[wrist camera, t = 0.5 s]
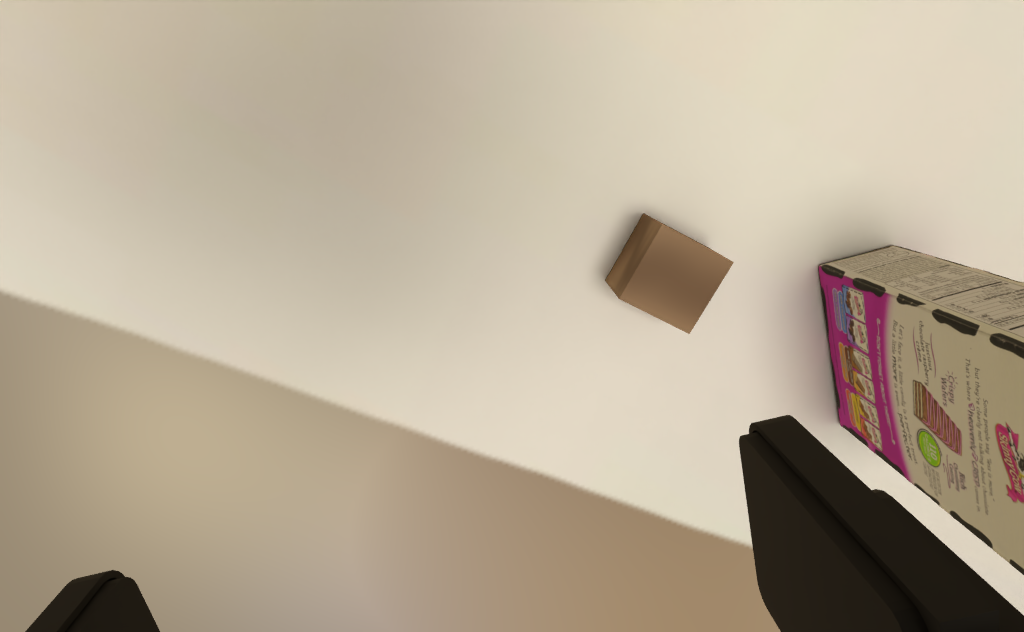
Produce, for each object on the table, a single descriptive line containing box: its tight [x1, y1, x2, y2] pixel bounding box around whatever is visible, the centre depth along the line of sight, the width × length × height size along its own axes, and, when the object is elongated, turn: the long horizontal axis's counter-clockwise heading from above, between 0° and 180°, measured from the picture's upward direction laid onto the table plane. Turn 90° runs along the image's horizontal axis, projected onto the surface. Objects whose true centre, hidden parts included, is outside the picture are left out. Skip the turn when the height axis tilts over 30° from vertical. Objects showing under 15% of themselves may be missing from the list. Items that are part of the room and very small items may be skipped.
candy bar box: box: [819, 245, 1024, 575], centre depth 32 cm, size 11×5×16 cm, turn 16°
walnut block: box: [605, 213, 734, 334], centre depth 36 cm, size 4×4×4 cm
